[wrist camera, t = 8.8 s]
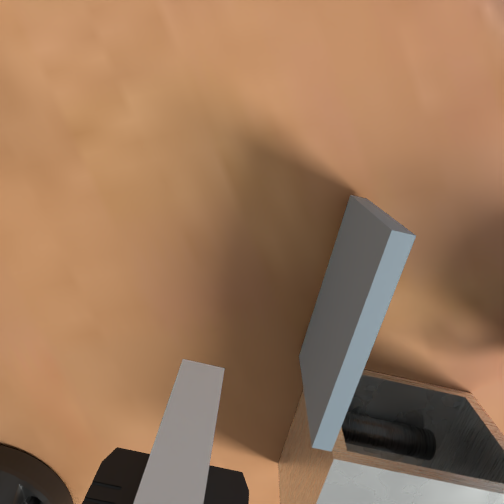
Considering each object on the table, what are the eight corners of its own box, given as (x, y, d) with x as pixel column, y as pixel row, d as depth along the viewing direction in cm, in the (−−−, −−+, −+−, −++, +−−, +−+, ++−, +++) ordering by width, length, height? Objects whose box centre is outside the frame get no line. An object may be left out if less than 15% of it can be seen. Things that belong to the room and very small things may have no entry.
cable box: (278, 463, 36) (282, 587, 26) (313, 358, 32) (333, 458, 22) (419, 492, 36) (474, 623, 27) (471, 393, 32) (557, 505, 23)
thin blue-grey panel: (313, 359, 31) (331, 451, 22) (298, 356, 31) (311, 447, 22) (366, 198, 27) (416, 235, 18) (350, 194, 26) (391, 229, 18)
